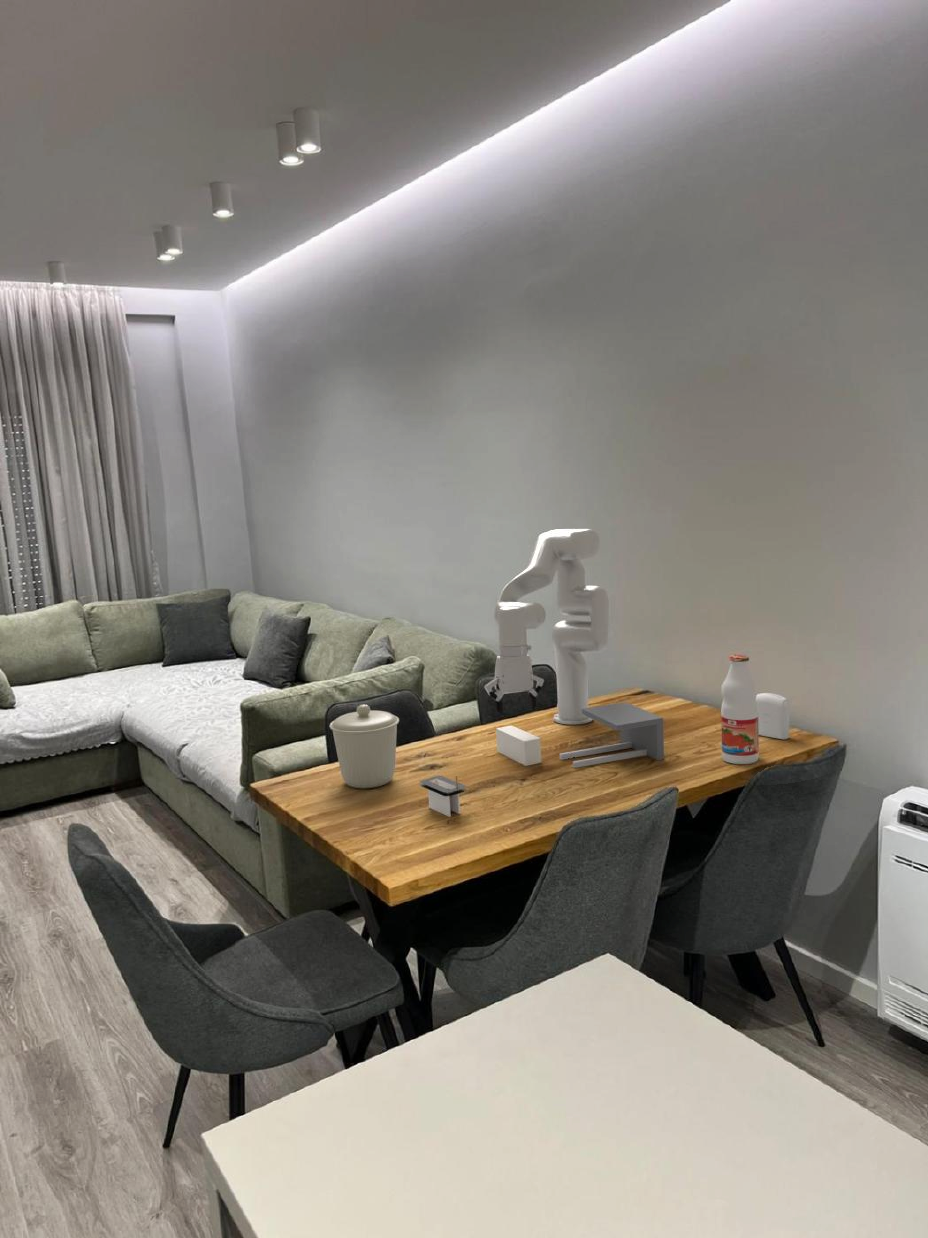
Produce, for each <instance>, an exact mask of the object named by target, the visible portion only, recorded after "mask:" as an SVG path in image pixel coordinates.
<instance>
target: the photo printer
mask: <svg viewBox="0 0 928 1238" xmlns="http://www.w3.org/2000/svg"><path fill="white" fill-rule="evenodd" d="M756 703H757V705H758V714H759V715H758V726H759V736H761V737H762V736H763V737H768V738H773V739H779V740H782V741H783V740H784V741H785V740H787V739H789V738H790V703H789V700H788V698H786V697H784V696H783V695H780V694H778V693H777V694H776V693H770V692H762V693H757V696H756Z"/></svg>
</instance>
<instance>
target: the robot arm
mask: <svg viewBox="0 0 928 1238" xmlns="http://www.w3.org/2000/svg"><path fill="white" fill-rule="evenodd" d="M600 545H601V542H600V536H599V534H598V533H597V531H596V530H594V529H592V528H562V529H561V528H560V529H551V530H549V531H547V532H543V533H541V534H540V535H539V536H538V537H537V539H536V541H535V543H534V545H533V548H532V551H531V553H530V556H529V559H528V561H527V564H526V567H525V569H524V571H522V572H521V573H519V574H517V576H515V577H513V579H511V580H510V581H509V582H508V583H506V585H504V587H503V588H502V590H501V592H500V594H499V597H498V599H497V601H496V605H495V608H494V621H495V623H496V625H497V626H498V643H499V644H498V648H499V655H497V656H496V658H495V659H496V660H495V665H494V666H495V667H494V678H493V679H492V680H491V681H489V682H488V683H487V684H485V685H484V686H483V688H484V689H485V691H486V692H487V695H488V696H489V697H490V698H492V699H493V700H494V701H493V702H494V712H495V713H496V714H497V715H499V716H503V711H504V709H503V701H502V700H501V699H502V698H503V696H504V695H505V694H512V693H513V694H515V693H522V692H527V693H528V695H527V708H528V709H529V711H533V712H534V711H536V706H537V699H536V698H537V697H538V694H539V692H540V691H541V689H542V687H543V685H544V682H545V679H544V678H541V677H539V676H537V675H535V674H534V673H533V667H532V661H531V658H530V654H528V653H529V651H531V650H532V646H531V644H528V642H527V630H536V629H539V628H540V627H541V626H542V625H543V624H544V623H545V621H546V610H545V607H543V605H542V604H540V603H538V602H536V601H535V602H534V601H519V600H520V599H521V598H523V597H525V596H526V595H528V594H532V593H534V592H537V591H539V590H542V589H544V588H546V587H548V586H549V585H551V584H552V582H553V581H554V577H555V575H556V574H557V576H556V577H557V579H556V581H557V584H556V585H557V586H556V587H557V588H556V590H557V591H556V596H557V597H556V604H557V610H558V612H559V613H560V614H561V615H563V616H568V617H586V618H587V617H589V618H590V620H574V619H573V620H560V621H558V622H556V623H555V624H554V626H553V627H552V629H551V641H552V644H553V645H552V646H553V650H554V656H555V667H556V672H555V673H556V692H557V704H556V708H557V713H556V714H554V715H553V721H554V722H556V723H558V724H560V725H571V726H572V725H574V726H576V725H583V724H588V723H590V722H592V721H593V719H591V718H589V717H587V716H585V715H583V714H582V709H583V708H589V691H588V690H589V689H588V687H589V686H588V665H587V662H586V660H585V658H584V656H583V654H582V652H583V653H602V652H603V651H605V650H606V649H607V648H608V643H609V632H610V631H609V629H610V628H609V626H610V625H609V623H610V621H609V620H610V603H609V602H610V600H609V594H608V592H607V591H606V589H605V588H604V587H602V586H599V585H586V574H585V573H586V571H585V566H584V564H583V562H582V560H587V559H591V558H593V557H594V556H596V555H597V553H598V551H599V548H600ZM534 681H536V684H535V686H534ZM493 687H494V690H496V691H495V692H494V691H493Z"/></svg>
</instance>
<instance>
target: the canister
mask: <svg viewBox="0 0 928 1238" xmlns="http://www.w3.org/2000/svg"><path fill="white" fill-rule="evenodd" d="M399 722H400V718H399V717H398V716H396V715H394V714H392V713H391V712H389V711H383V710H371V707H370V706H369V705H368V704H360V705H357V707H356V711H353V712H348V713H345V714H343V715H340V716H338V717H336V719H334V720H333V721H331V722H330V723H329V728H330V730H331V731H332V734H333V739H334V744H335V746H334V747H335V749H336V754H337V759H338V760H337V761H338V764H339V768H340V769H339V770H340V774H341V777H342V779H343V782H344V783H345V784H346V785H348V786H349V787H351V788H355V789H356V788H357V789H373V788H374V789H375V788H378V787H381V786H383V785H387V784H388V783H390V781H392V779H393V777H394V776H395V771H396V769H395V768H396V756H397V754H396V753H397V732H398V731H397V728H398V726H397V725H398V724H399Z"/></svg>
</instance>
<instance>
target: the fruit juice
mask: <svg viewBox="0 0 928 1238" xmlns="http://www.w3.org/2000/svg"><path fill="white" fill-rule="evenodd" d="M728 659H729V664H730V665H729V668H728V672H727V675H726V677H725V679H724V680H723V682H722V684H721V690H720V691H721V694H722V699H723V700H722V703H721V709H720V711H721V712H720V715H721V716H720V718H721V720H720V721H721V722H720V723H721V725H720V726H721V729H720V731H721V758H722V760H723V761H724V762H725V763H726V762H727V763H728V764H733V765H750V764H754V763H757V762H758V760H759V757H760V753H759V752H760V751H759V748H760V747H759V736H760V735H759V726H758V715H759V714H758V705H757V703H756V696H757V695H758V692H759V690H758V689H759V688H758V684H757V682H756V681H755V679H754V678H753V676H752V673H751V670H750V668H749V661H750V657H749V655H747V654H742V653H741V654H738V653H736V654H730V655H729V658H728Z"/></svg>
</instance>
